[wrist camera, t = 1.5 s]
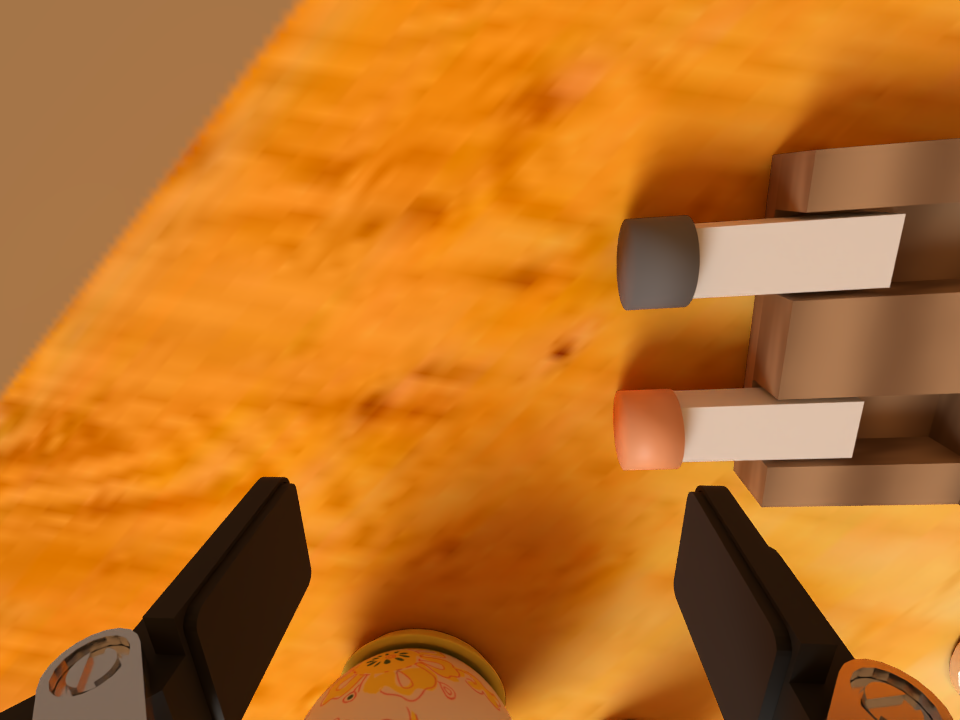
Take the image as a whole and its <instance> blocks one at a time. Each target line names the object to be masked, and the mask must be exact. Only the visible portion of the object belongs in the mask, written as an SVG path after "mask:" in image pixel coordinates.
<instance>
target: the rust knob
mask: <svg viewBox="0 0 960 720" xmlns="http://www.w3.org/2000/svg"><path fill="white" fill-rule="evenodd" d="M863 405H864V401H863V400H861V399H859V398H858V397H840V398H812V399H784V400H778V399H777V398H775V397H774V396H773V395H772V394H770V393H769V392H768V391H767V390H766V389H764V388H763V387H759V388H733V389H707V390H681V391H673V390H671V389H648V390H622V391H617V392H616V394H615V398H614V407H613V426H614V438H615V446H616V451H617V456H618V460H619V463H620V466H621V468H622V469H623V470H652V469H678V468H679V467H680V466H681V464H682V462H701V461H742V460H782V459H823V458H852V455H853V450H854V446H855V441H856V437H857V432H858V428H859V423H860V419H861V414H862V410H863Z"/></svg>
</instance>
